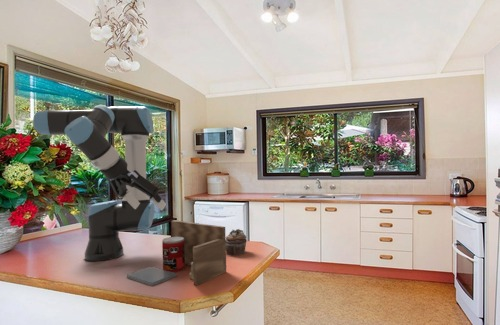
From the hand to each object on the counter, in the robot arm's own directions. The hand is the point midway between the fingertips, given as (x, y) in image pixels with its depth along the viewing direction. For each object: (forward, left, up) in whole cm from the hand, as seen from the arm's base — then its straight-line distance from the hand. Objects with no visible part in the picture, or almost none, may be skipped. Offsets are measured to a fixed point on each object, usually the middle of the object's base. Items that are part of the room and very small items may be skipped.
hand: (150, 206), depth 108 cm
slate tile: (0, 0, -24) cm, 24 cm away
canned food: (0, +10, -24) cm, 26 cm away
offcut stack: (+15, +10, -24) cm, 30 cm away
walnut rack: (+6, +10, -24) cm, 27 cm away
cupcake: (+7, +38, -24) cm, 45 cm away
